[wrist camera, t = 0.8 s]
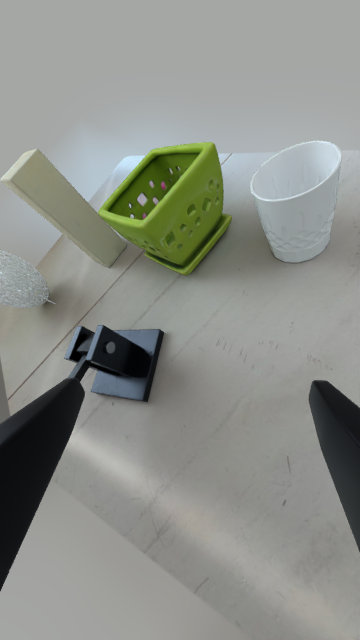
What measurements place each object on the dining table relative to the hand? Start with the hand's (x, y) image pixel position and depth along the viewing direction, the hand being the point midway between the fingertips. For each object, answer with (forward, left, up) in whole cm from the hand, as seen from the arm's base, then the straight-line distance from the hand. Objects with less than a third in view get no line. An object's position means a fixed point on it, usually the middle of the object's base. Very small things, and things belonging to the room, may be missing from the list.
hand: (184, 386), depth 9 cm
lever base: (+5, +20, -18) cm, 27 cm away
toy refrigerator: (+31, +35, -18) cm, 50 cm away
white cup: (+23, -3, -18) cm, 29 cm away
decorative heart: (+20, +53, -18) cm, 59 cm away
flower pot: (+27, +14, -18) cm, 35 cm away
